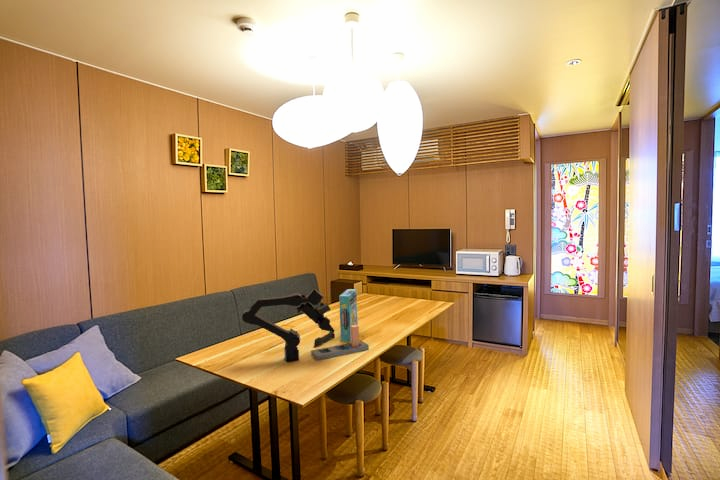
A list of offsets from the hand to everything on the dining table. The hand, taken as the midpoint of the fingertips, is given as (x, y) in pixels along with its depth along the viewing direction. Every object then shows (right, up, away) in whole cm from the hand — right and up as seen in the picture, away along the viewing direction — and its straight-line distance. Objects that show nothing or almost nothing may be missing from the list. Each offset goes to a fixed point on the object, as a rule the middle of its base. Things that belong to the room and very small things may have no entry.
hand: (331, 329), depth 201 cm
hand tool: (-6, -13, +20) cm, 24 cm away
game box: (+9, -11, +30) cm, 33 cm away
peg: (+13, -13, +7) cm, 19 cm away
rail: (+4, -13, +3) cm, 14 cm away
